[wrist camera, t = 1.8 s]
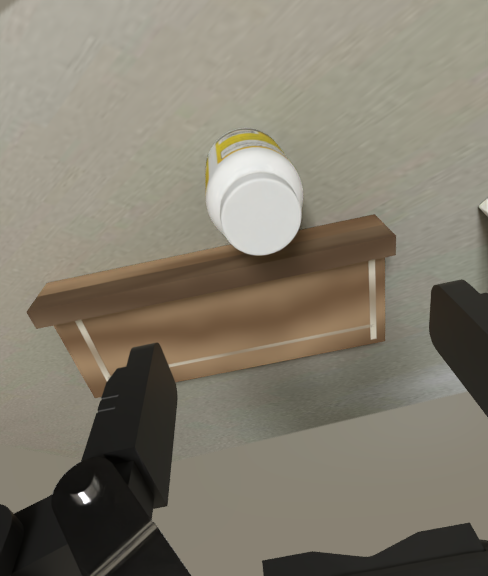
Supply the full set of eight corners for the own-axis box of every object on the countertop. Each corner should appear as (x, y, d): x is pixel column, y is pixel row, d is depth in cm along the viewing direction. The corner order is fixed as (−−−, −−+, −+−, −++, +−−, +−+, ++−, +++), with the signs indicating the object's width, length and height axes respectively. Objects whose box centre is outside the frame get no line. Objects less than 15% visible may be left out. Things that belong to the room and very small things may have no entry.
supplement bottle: (253, 218, 29) (270, 286, 21) (191, 177, 27) (182, 233, 19) (299, 157, 27) (338, 205, 19) (235, 108, 25) (247, 137, 17)
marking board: (46, 283, 31) (26, 312, 27) (374, 214, 30) (395, 235, 26) (100, 381, 37) (88, 415, 33) (376, 327, 36) (394, 356, 32)
